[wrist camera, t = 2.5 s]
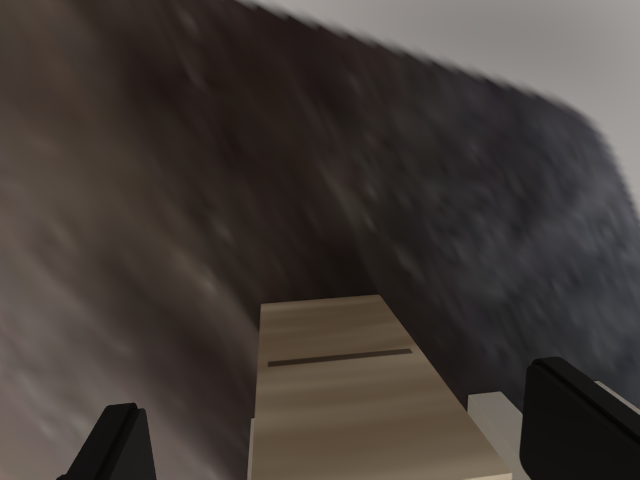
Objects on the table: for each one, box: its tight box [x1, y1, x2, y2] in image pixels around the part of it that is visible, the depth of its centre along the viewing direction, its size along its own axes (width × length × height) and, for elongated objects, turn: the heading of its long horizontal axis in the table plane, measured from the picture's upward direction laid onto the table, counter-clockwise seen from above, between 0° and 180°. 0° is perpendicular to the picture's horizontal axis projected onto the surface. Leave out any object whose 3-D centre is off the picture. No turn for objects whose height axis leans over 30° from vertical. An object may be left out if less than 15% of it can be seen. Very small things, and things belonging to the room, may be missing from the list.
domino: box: [251, 295, 512, 480], centre depth 13 cm, size 2×5×10 cm, turn 92°
